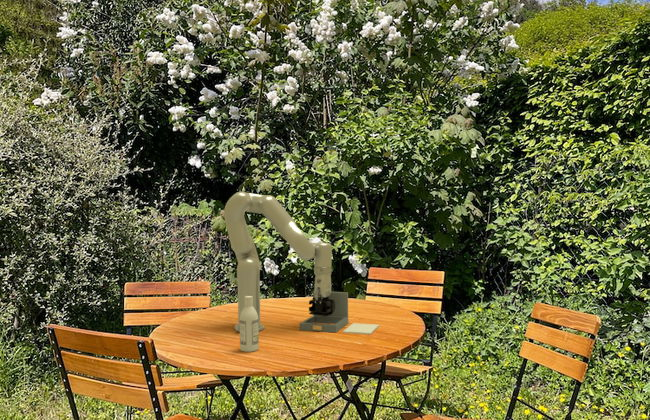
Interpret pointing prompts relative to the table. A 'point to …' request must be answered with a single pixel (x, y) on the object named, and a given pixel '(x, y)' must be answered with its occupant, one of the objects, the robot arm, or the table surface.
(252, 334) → the bath foam
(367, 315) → the table surface
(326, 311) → the end cap
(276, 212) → the robot arm
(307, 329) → the equipment case
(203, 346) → the table surface
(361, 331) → the grey mat
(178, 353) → the table surface
